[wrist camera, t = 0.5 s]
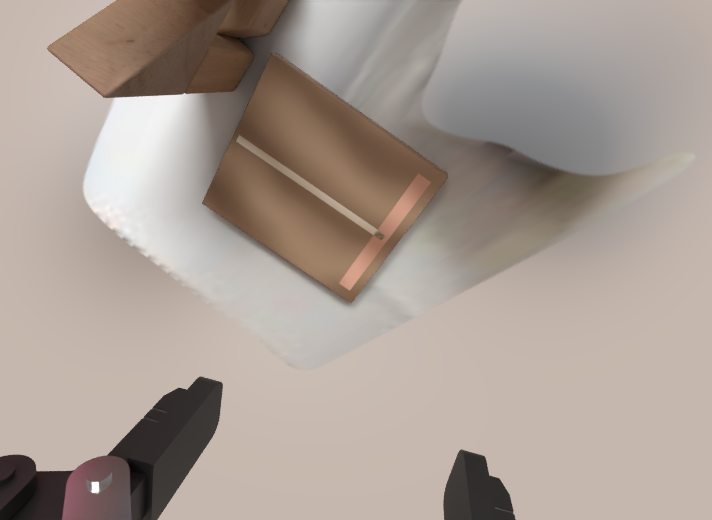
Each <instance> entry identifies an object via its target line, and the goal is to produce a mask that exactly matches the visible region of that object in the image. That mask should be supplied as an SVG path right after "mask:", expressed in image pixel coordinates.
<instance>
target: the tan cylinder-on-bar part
mask: <svg viewBox="0 0 712 520" xmlns="http://www.w3.org/2000/svg"><path fill="white" fill-rule="evenodd" d="M288 1H289V0H116V1H115V2H113V3H112V4H111V5H109V6H107V7H106V8H105V9H103V10H101V11H100V12H98V13H97V14H95V15H94V16H92V17H91V18H89V19H88V20H87V21H85V22H83V23H82V24H81V25H79V26H78V27H76V28H74V29H73V30H72V31H70V32H69V33H67V34H66V35H64V36H63V37H61V38H60V39H58V40H57V41H55V42H54V43H52V44H51V45H49V46H48V48H47V49H48V50H49V51H50V52H51V53H52V54H53V55H54V56H55V57H57V58H58V59H59V60H60V61H61V62H62V63H64V64H65V65H66V66H67V67H68V68H70V69H71V70H72V71H73V72H74V73H76V74H77V75H78V76H79V77H80V78H81V79H83V80H84V81H85V82H86V83H87V84H89V85H90V86H91V87H92V88H94V90H96V91H97V92H98V93H99V94H101V95H102V96H103V97H105V98H115V97H136V96H158V95H179V94H183V93H186V94H192V93H213V92H232V91H234V90H235V88H236V87H237V85H238V83H239V82H240V80H241V78H242V77H243V75H244V74H245V72H246V70H247V69H248V67H249V65H250V64H251V62H252V60H253V58H254V55H253V53H252V52H251V51H250V50H249V49H248V48H247V47H246V46H245V45H244V44H243V43H241V42H240V41H239V40H238V39H237V38H246V37H254V36H262V35H267V34H268V33H269V32H270V31H271V29H272V27H273V26H274V24H275V22H276V21H277V19H278V18H279V16H280V14H281V13H282V11H283V9H284V8H285V6H286V4H287V3H288Z"/></svg>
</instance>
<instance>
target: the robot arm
mask: <svg viewBox="0 0 712 520" xmlns="http://www.w3.org/2000/svg"><path fill="white" fill-rule="evenodd" d="M222 389H223V384H222V383H221V382H219V381H215V380H212V379H208V378H204V377H199V378H198V379H196V380H195V382H194V383H193V384H192V385H191V386H190V387H189V388H188V390H186V389H182V388H178V389H176V390H174V391H172V392H170V393H168V394H166V395H164V396H163V397H162V398H161V399H160V400H159V401H158V403H156V405H155V406H154V407H153V409H151V410H150V411H149V412H148V413H147V414H146V415H145V416H144V418H143V419H141V420H140V422H138V424H137V425H136V426H135V427H134V428H133V429H132V430H131V431H130V432H129V433H128V434H127V435H126V436H125V437H124V438H123V439H122V440H121V441H120V442H119V444H118V445H117V446H116V447H115V448H114V449H113V450H112V451H111V452H110V453H109V454H108V455H107V456H101V457H97V458H93V459H91V460H88V461H86V462H84V463H83V464H81V465H80V466H79V467H77V468H76V469H75V470H73V471H39V472H38V471H36V465H35V462H34V461H33V460H32V459H31V458H29V457H27V456H24V455H8V456H2V457H0V520H157V519H158V518H159V516H160V515H161V513H162V512H163V510H164V509H165V507H166V506H167V504H168V503H169V501H170V500H171V498H172V497H173V495H174V494H175V492H176V490H177V489H178V488H179V486H180V485H181V483H182V482H183V480H184V479H185V477H186V476H187V474H188V473H189V471H190V470H191V468H192V467H193V465H194V464H195V462H196V461H197V459H198V458H199V456H200V455H201V453H202V452H203V450H204V449H205V448H206V446H207V445H208V443H209V441H210V440H211V438H212V437H213V435H214V433H215V431H216V428H217V425H218V422H219V416H220V407H221V398H222ZM444 520H515V516H514V514H513V507H512V503H511V499H510V495H509V493H508V492H507V490H506V489H505V487H504V485H503V483H502V482H501V480H500V479H499V478H496V477H492V476H489V472H488V467H487V462H486V458H485V457H484V456H482V455H478V454H475V453H471V452H468V451H464V450H460V451H459V453H458V455H457V458H456V460H455V463H454V466H453V468H452V471H451V474H450V476H449V479H448V482H447V484H446V488H445V493H444Z"/></svg>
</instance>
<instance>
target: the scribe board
mask: <svg viewBox="0 0 712 520" xmlns="http://www.w3.org/2000/svg"><path fill="white" fill-rule="evenodd" d="M447 178H448V177H447V173H446V172H444V171H443V170H441V169H440V168H438V167H437V166H436V165H434V164H433V163H431V162H430V161H429V160H427V159H426V158H424V157H423V156H422V155H420V154H419V153H417V152H416V151H414V150H413V149H412V148H410V147H409V146H407V145H406V144H405V143H403V142H402V141H400V140H399V139H398V138H396V137H395V136H393V135H392V134H390V133H389V132H388V131H386V130H385V129H383V128H382V127H381V126H379V125H378V124H376V123H375V122H373V121H372V120H371V119H369V118H368V117H366V116H365V115H364V114H362V113H361V112H359V111H358V110H357V109H355V108H354V107H352V106H351V105H349V104H348V103H347V102H345V101H344V100H342V99H341V98H340V97H338V96H337V95H335V94H334V93H333V92H331V91H330V90H328V89H327V88H325V87H324V86H323V85H321V84H320V83H318V82H317V81H316V80H314V79H313V78H311V77H310V76H308V75H307V74H306V73H304V72H303V71H301V70H300V69H299V68H297V67H296V66H294V65H293V64H292V63H290V62H289V61H287V60H286V59H284V58H283V57H282V56H280V55H278V54H273V53H271V56H270V58H269V60H268V62H267V64H266V66H265V69H264V71H263V73H262V75H261V77H260V79H259V82H258V84H257V86H256V88H255V90H254V92H253V94H252V97H251V99H250V101H249V103H248V105H247V107H246V110H245V112H244V114H243V116H242V118H241V120H240V122H239V125H238V127H237V129H236V131H235V133H234V135H233V138H232V140H231V142H230V144H229V146H228V148H227V151H226V153H225V155H224V157H223V159H222V161H221V163H220V166H219V168H218V170H217V172H216V174H215V176H214V179H213V181H212V183H211V185H210V187H209V189H208V192H207V194H206V196H205V198H204V200H203V202H202V204H204V205H205V206H207V207H208V208H210V209H211V210H213V211H214V212H216V213H217V214H219V215H220V216H222V217H223V218H225V219H226V220H228V221H229V222H231V223H232V224H234V225H235V226H237V227H238V228H240V229H241V230H243V231H244V232H246V233H247V234H249V235H250V236H252V237H253V238H255V239H256V240H258V241H259V242H261V243H262V244H264V245H265V246H267V247H268V248H270V249H271V250H273V251H274V252H276V253H277V254H279V255H280V256H282V257H283V258H285V259H286V260H288V261H289V262H291V263H292V264H294V265H295V266H297V267H298V268H300V269H301V270H303V271H304V272H306V273H307V274H309V275H310V276H312V277H313V278H315V279H316V280H318V281H319V282H321V283H322V284H324V285H325V286H327V287H328V288H330V289H331V290H333V291H334V292H336V293H337V294H339V295H340V296H342V297H343V298H345V299H346V300H348V301H349V302H351V303H352V301H353V300H354V299H355V298H356V296H357V295H358V294H359V292H360V291H361V290H362V288H363V287H364V286H365V285H366V283H367V282H368V281H369V279H370V278H371V277H372V275H373V274H374V273H375V272H376V270H377V269H378V268H379V266H380V265H381V264H382V262H383V261H384V260H385V259H386V257H387V256H388V255H389V253H390V252H391V251H392V249H393V248H394V247H395V245H396V244H397V243H398V242H399V240H400V239H401V238H402V236H403V235H404V234H405V232H406V231H407V230H408V229H409V227H410V226H411V225H412V223H413V222H414V221H415V219H416V218H417V217H418V216H419V214H420V213H421V212H422V210H423V209H424V208H425V206H426V205H427V204H428V202H429V201H430V200H431V199H432V197H433V196H434V195H435V193H436V192H437V191H438V189H439V188H440V187H441V186H442V184H443V183H444V182H445V180H446V179H447Z"/></svg>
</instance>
